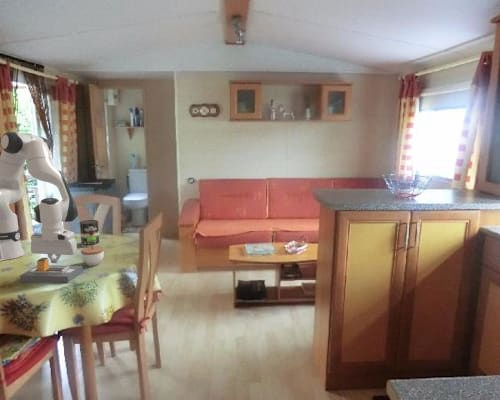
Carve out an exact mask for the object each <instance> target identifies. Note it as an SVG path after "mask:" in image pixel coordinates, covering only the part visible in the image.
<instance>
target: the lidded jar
mask: <svg viewBox="0 0 500 400" xmlns="http://www.w3.org/2000/svg"><path fill="white" fill-rule="evenodd" d="M104 250H105V248H104V247H103V246H99V245H97V246H91V247H84V248H82V249H81V250H80V253H81V258H82V260H83V261H82V262H84V263H85V264H86V265H87V266H90V267H93V266H99V265H100V264H101V262H102V261H103V260H104V257H105V251H104Z"/></svg>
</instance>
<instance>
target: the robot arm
mask: <svg viewBox="0 0 500 400" xmlns="http://www.w3.org/2000/svg"><path fill="white" fill-rule="evenodd" d="M0 138H1V139H0V147H1V149H2V151H1V154H0V262H1V261H2V262H3V261H8V260H12V259H17V258H21V257H23V256H24V255H25V250H24V248H23V245H22V242H21V231H20V228H19V221H18V215H17V214H16V213H14V212H13V211H12V210H11V207H10V205H12V204H15V203H17V202H18V201H20V200H21V199H23V198H24V196H25V190H24V188H23V187H22V184H21V183H22V182H21V180H22V174H23V170H24V168H25V167H24V166H25V163H26V167H27V171H28V174H29V175H30V176H31V177H32V178H33V179H35V180H38V181H40V182H45V183H49V184H51V185H54V186H56V187H57V189H58V191H59V194H60V196H61V199H62V201H60V199H58V198H54V197H47V198H43V199H41V200H40V202H39V203H38V204H37V205H36V206H35V207H33V212H34V221H35V222H36V223H38V224H41V227H40V230H41V232H40V233H33V234H32V235H31V236H30V241H31V242H30V252H31V253H32V254H34V255H36V254H37V255H38V254H39V255H41V254H42V255H47V258H48V260H50V264H59V263H60V257H61V256H63V255H65V256H72V255H75V254H77V252H78V245H77V241H76V238H75V232H74V231H71V230H68V229H66V228H64V225H63V222H64V223H69V222H73V221H75V219H77V218H78V216H79V210H78V206H77V204H76V202H75V200H74V198H73V195H72V193H71V191H70V189H69V188H70V187H69V186H68V183H67V182H68V181H66V177H65V176H64V174H63V172H62V170H60V169H57V168H56V166H55V165H54V162H53V158H52V154H51V143H50V141H49V140H48V139H47V138H45V137H43V136H38V135H34V134H29V133H21V132H20V133H19V132H14V131H8V132H5V133H4V134H3V135H2V136H1V137H0ZM54 255H55V257H56V258H54Z"/></svg>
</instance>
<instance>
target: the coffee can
mask: <svg viewBox="0 0 500 400" xmlns="http://www.w3.org/2000/svg"><path fill="white" fill-rule="evenodd" d="M79 228H80V246H82V247H84V248H87V247H91V246H99V245H100V244H101V243H100V230H99V220H97V219H86V220H82V221H79Z"/></svg>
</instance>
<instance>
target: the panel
mask: <svg viewBox="0 0 500 400" xmlns="http://www.w3.org/2000/svg"><path fill="white" fill-rule="evenodd" d="M54 265H55V264H52V265H50V264H49V269H48V270H46V271H38V268H37V265H35V266H34V267H32V268H31V269H28V270H27V271H25V272H24V273H22V274H20V275H19V278H20V283H21V282H22V283H55V284H56V283H59V284H60V283H62V284H63V283H64V284H68V283H70V282H71V281H73V280H74V279H76V278H77V277H78V276H79V275H81V274H82V273H83V272H84V271H83V266H82V265H63V266H54Z"/></svg>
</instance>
